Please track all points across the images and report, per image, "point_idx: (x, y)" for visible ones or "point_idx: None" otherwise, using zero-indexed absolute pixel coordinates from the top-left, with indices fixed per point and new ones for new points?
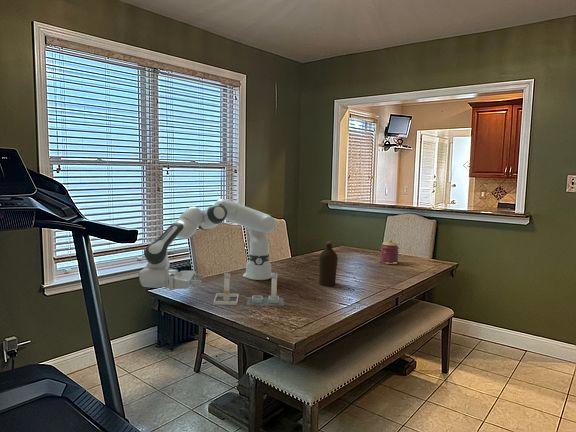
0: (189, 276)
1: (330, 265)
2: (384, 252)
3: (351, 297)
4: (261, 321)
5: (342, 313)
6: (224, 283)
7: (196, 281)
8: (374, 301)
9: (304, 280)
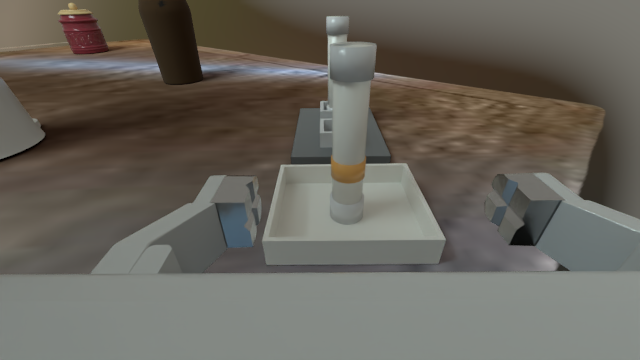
0: (615, 322)
1: (192, 25)
2: (83, 30)
3: (285, 71)
4: (516, 137)
5: (381, 77)
6: (361, 122)
7: (589, 218)
8: (308, 63)
9: (128, 94)
